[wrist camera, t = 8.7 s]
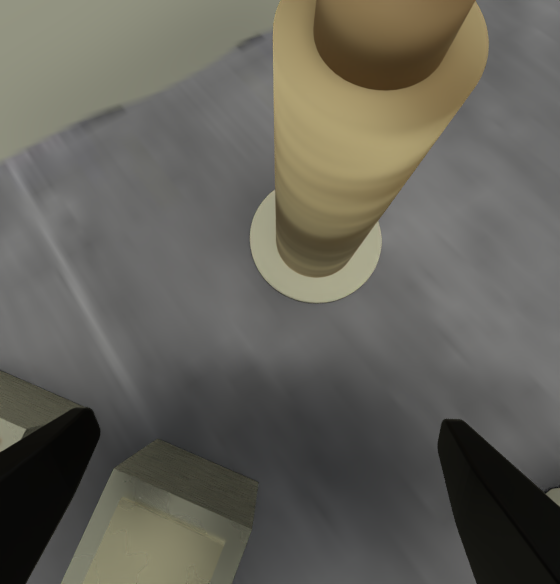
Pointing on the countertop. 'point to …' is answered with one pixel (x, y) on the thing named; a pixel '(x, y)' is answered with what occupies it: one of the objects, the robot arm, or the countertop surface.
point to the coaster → (305, 286)
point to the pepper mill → (360, 112)
